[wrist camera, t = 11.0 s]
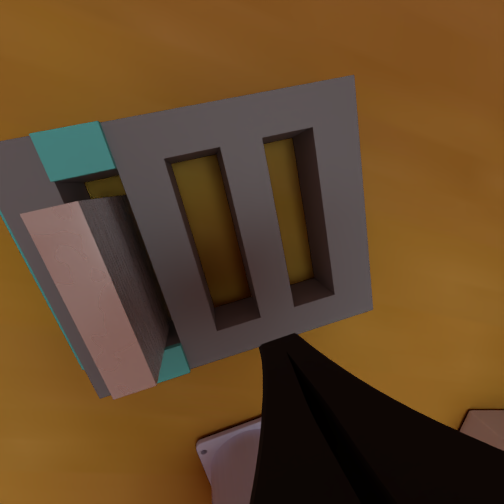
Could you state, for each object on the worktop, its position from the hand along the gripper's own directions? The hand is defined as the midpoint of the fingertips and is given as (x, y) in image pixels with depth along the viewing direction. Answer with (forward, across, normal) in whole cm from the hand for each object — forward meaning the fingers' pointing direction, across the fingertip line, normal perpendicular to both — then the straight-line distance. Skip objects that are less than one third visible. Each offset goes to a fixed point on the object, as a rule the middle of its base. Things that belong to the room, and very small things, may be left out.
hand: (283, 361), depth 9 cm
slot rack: (+9, +1, -3) cm, 10 cm away
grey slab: (+9, +6, -3) cm, 12 cm away
